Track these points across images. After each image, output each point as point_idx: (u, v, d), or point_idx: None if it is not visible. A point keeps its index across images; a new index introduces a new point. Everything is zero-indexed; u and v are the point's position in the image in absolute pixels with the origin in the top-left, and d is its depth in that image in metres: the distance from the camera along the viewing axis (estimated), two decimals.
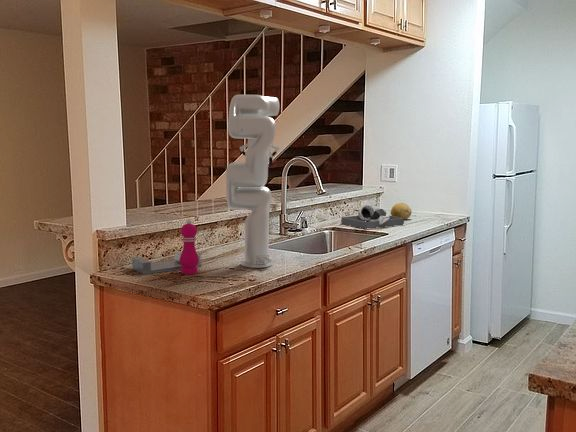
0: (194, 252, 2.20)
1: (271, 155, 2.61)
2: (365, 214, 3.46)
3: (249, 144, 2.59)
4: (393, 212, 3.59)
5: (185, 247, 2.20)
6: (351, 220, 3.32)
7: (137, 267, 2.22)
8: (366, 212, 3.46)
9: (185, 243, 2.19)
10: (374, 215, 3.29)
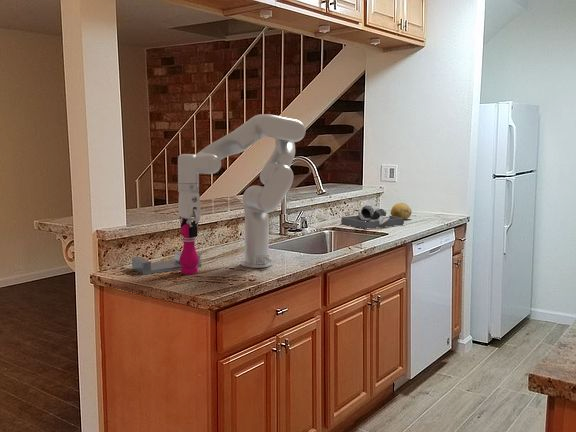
0: (194, 252, 2.20)
1: (186, 221, 2.24)
2: (365, 214, 3.46)
3: None
4: (393, 212, 3.59)
5: (185, 247, 2.20)
6: (351, 220, 3.32)
7: (137, 267, 2.22)
8: (366, 212, 3.46)
9: (185, 243, 2.19)
10: (374, 215, 3.29)
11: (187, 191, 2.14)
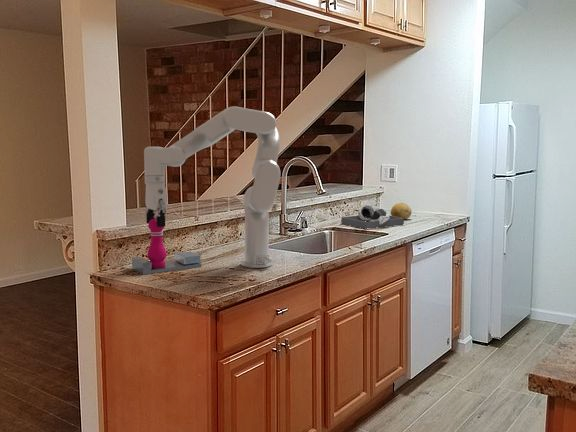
0: (161, 246, 2.24)
1: (152, 209, 2.28)
2: (365, 214, 3.46)
3: None
4: (393, 212, 3.59)
5: (152, 241, 2.23)
6: (351, 220, 3.32)
7: (137, 267, 2.22)
8: (366, 212, 3.46)
9: (152, 237, 2.23)
10: (374, 215, 3.29)
11: (153, 183, 2.18)
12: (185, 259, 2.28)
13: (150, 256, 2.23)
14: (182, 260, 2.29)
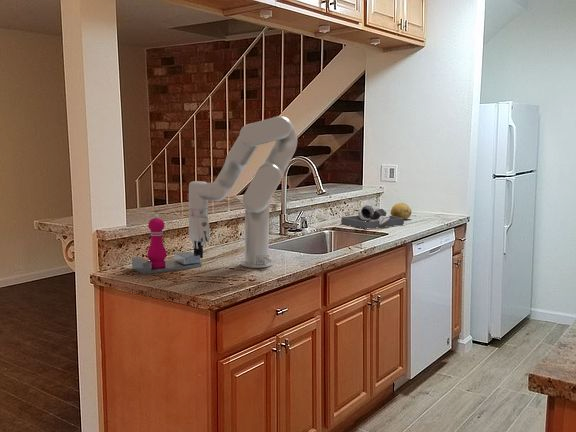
0: (161, 246, 2.24)
1: None
2: (365, 214, 3.45)
3: None
4: (393, 212, 3.59)
5: (152, 241, 2.23)
6: (351, 220, 3.32)
7: (137, 267, 2.22)
8: (366, 212, 3.46)
9: (152, 237, 2.23)
10: (374, 215, 3.29)
11: (197, 216, 2.30)
12: (185, 259, 2.28)
13: (150, 256, 2.23)
14: (182, 260, 2.29)
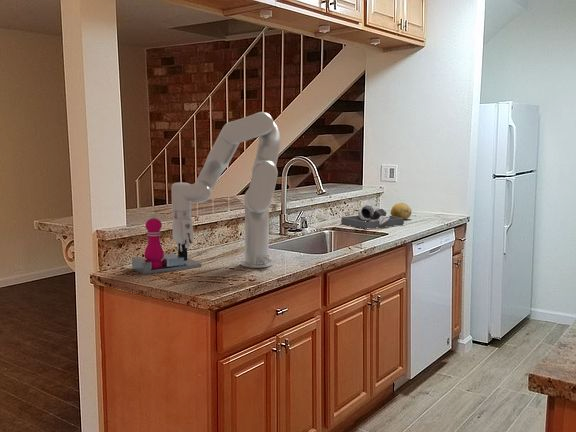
0: (159, 246, 2.24)
1: None
2: (365, 214, 3.45)
3: None
4: (393, 212, 3.59)
5: (150, 241, 2.23)
6: (351, 220, 3.32)
7: (137, 267, 2.22)
8: (366, 212, 3.46)
9: (149, 237, 2.23)
10: (374, 215, 3.29)
11: (180, 218, 2.26)
12: (168, 261, 2.24)
13: (147, 256, 2.22)
14: (165, 262, 2.25)
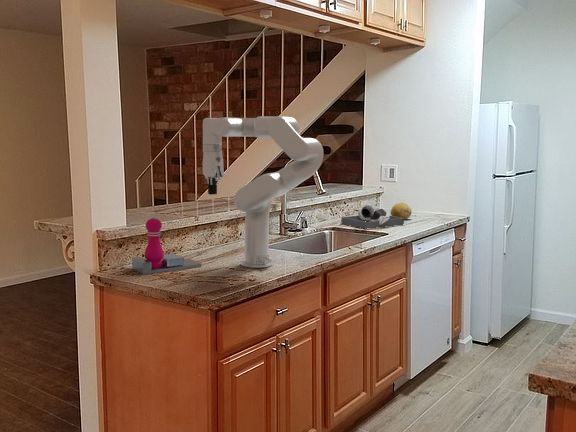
0: (159, 246, 2.24)
1: None
2: (365, 214, 3.45)
3: None
4: (393, 212, 3.59)
5: (150, 241, 2.23)
6: (351, 220, 3.32)
7: (137, 267, 2.22)
8: (366, 212, 3.46)
9: (150, 237, 2.23)
10: (374, 215, 3.29)
11: (211, 151, 2.35)
12: (168, 261, 2.24)
13: (147, 256, 2.22)
14: (165, 262, 2.25)
